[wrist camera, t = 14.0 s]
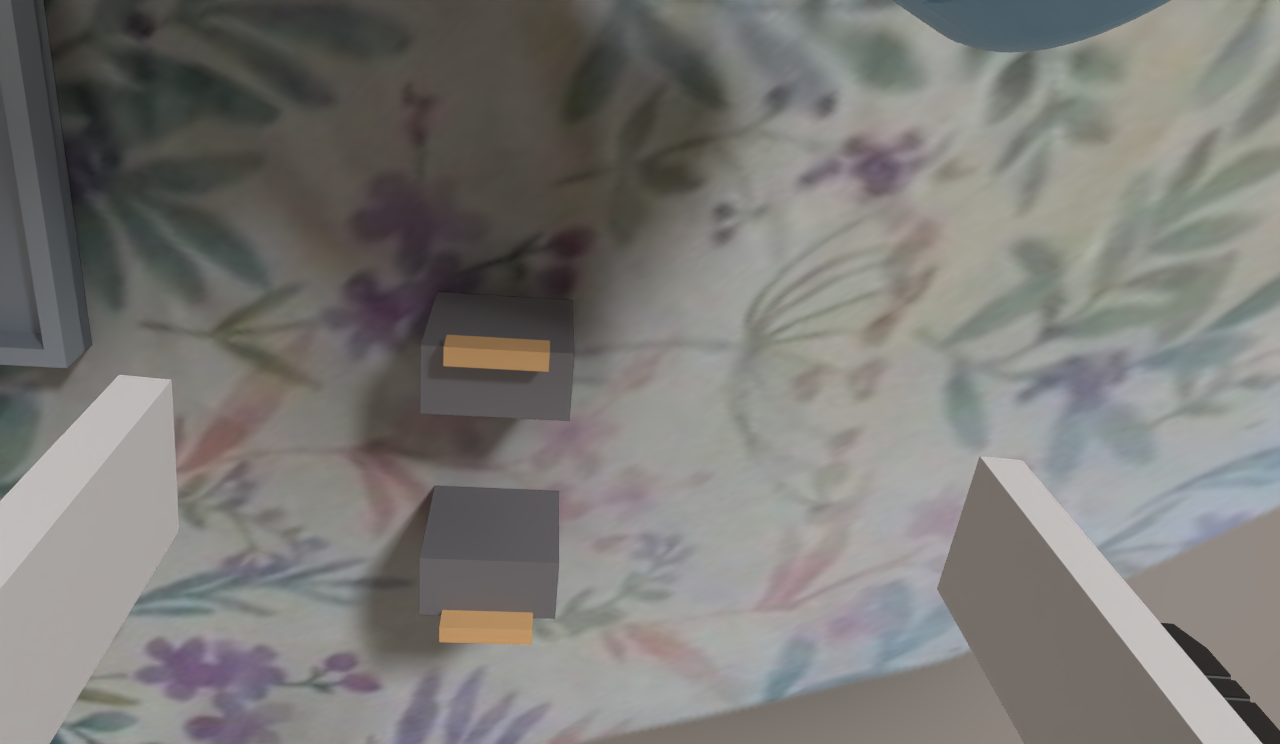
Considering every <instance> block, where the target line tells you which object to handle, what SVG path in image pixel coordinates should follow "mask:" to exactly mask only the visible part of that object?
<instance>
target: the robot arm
mask: <svg viewBox="0 0 1280 744" xmlns="http://www.w3.org/2000/svg"><path fill="white" fill-rule="evenodd" d="M892 1H894V2H895V3H897V4H898V5H900V6H901V7H903V8H904V9H906V10H907V11H908V12H910V13H911V14H913V15H914V16H916V17H917V18H919V19H920V20H922V21H923V22H924V23H926V24H927V25H929V26H930V27H932V28H933V29H935V30H936V31H938V32H939V33H941V34H942V35H944V36H946V37H947V38H949V39H951V40H953V41H955V42H958V43H962V44H965V45H968V46H971V47H975V48H978V49H982V50H986V51H995V52H1025V51H1036V50H1043V49H1049V48H1054V47H1058V46H1063V45H1067V44H1070V43H1074V42H1077V41H1080V40H1084V39H1087V38H1090V37H1092V36H1095V35H1098V34H1101V33H1103V32H1106V31H1108V30H1111V29H1113V28H1115V27H1118V26H1120V25H1122V24H1125V23H1127V22H1129V21H1131V20H1133V19H1136V18H1138V17H1140V16H1142V15H1144V14H1146V13H1148V12H1150V11H1152V10H1154V9H1156V8H1158V7H1159V6H1161V5H1163V4H1165V3H1167V2H1169V1H1171V0H892ZM178 532H179V520H178V499H177V478H176V458H175V437H174V416H173V395H172V380H170V379H159V378H148V377H138V376H127V375H118V376H117V378H116V379H115V380H114V381H113V382H112V383H111V384H110V385H109V386H108V387H107V388H106V389H105V390H104V391H103V392H102V393H101V394H100V396H99V397H98V398H97V399H96V400H95V401H94V402H93V403H92V404H91V405H90V406H89V407H88V408H87V409H86V410H85V411H84V413H83V414H82V415H81V416H80V417H79V418H78V419H77V420H76V421H75V422H74V423H73V424H72V425H71V426H70V427H69V428H68V430H67V431H66V432H65V433H64V434H63V435H62V436H61V437H60V438H59V439H58V440H57V441H56V442H55V443H54V444H53V445H52V446H51V448H50V449H49V450H48V451H47V452H46V453H45V454H44V455H43V456H42V457H41V458H40V459H39V460H38V461H37V462H36V463H35V465H34V466H33V467H32V468H31V469H30V470H29V471H28V472H27V473H26V474H25V475H24V476H23V477H22V478H21V479H20V480H19V482H18V483H17V484H16V485H15V486H14V487H13V488H12V489H11V490H10V491H9V492H8V493H7V494H6V495H5V496H4V497H3V498H2V500H1V501H0V744H50V742H51V741H52V739H53V737H54V736H55V734H56V732H57V731H58V729H59V727H60V726H61V724H62V723H63V721H64V719H65V718H66V716H67V714H68V713H69V711H70V709H71V708H72V706H73V704H74V703H75V701H76V699H77V698H78V696H79V695H80V693H81V691H82V690H83V688H84V686H85V685H86V683H87V681H88V680H89V678H90V676H91V675H92V673H93V672H94V670H95V668H96V667H97V665H98V663H99V662H100V660H101V658H102V657H103V655H104V653H105V652H106V650H107V649H108V647H109V645H110V644H111V642H112V640H113V639H114V637H115V635H116V634H117V632H118V630H119V629H120V627H121V626H122V624H123V622H124V621H125V619H126V617H127V616H128V614H129V612H130V611H131V609H132V607H133V606H134V604H135V602H136V601H137V599H138V598H139V596H140V594H141V593H142V591H143V589H144V588H145V586H146V584H147V583H148V581H149V579H150V578H151V576H152V575H153V573H154V571H155V570H156V568H157V566H158V565H159V563H160V561H161V560H162V558H163V556H164V555H165V553H166V552H167V550H168V548H169V547H170V545H171V543H172V542H173V540H174V538H175V537H176V535H177V533H178ZM937 589H938V591H939V593H940V595H941V597H942V598H943V600H944V602H945V604H946V605H947V607H948V609H949V611H950V613H951V614H952V616H953V618H954V620H955V621H956V623H957V625H958V627H959V629H960V630H961V632H962V634H963V636H964V637H965V639H966V641H967V643H968V645H969V646H970V648H971V650H972V652H973V653H974V655H975V657H976V659H977V660H978V662H979V664H980V666H981V668H982V669H983V671H984V673H985V675H986V677H987V678H988V680H989V682H990V684H991V685H992V687H993V689H994V691H995V693H996V694H997V696H998V698H999V700H1000V701H1001V703H1002V705H1003V706H1004V708H1005V710H1006V712H1007V714H1008V716H1009V717H1010V719H1011V721H1012V723H1013V725H1014V726H1015V728H1016V730H1017V731H1018V734H1019V735H1020V737H1021V739H1022V741H1023V742H1024V744H1280V731H1279V729H1278V728H1277V727H1276V726H1275V725H1274V724H1273V723H1272V721H1271V720H1270V719H1269V718H1268V717H1267V716H1266V715H1265V714H1264V712H1263V711H1262V710H1261V709H1260V708H1259V707H1258V706H1257V704H1256V703H1251V702H1250V696H1249V695H1248V694H1247V693H1246V692H1245V691H1244V690H1243V689H1242V687H1241V686H1240V685H1239V684H1238V683H1237V682H1236V681H1234V680H1231V678H1230V677H1231V675H1230V674H1229V673H1228V672H1227V670H1226V669H1225V668H1224V667H1223V666H1222V665H1221V664H1220V662H1219V661H1218V660H1217V659H1216V658H1215V657H1214V656H1213V655H1212V653H1211V652H1210V651H1209V650H1208V649H1207V648H1206V647H1204V646H1203V645H1202V644H1200V643H1199V642H1198V641H1196V640H1195V639H1193V638H1192V637H1191V636H1189V635H1188V634H1187V633H1185V632H1184V631H1182V630H1180V628H1178V627H1177V626H1175V625H1174V624H1168V623H1159V621H1158V620H1157V619H1156V618H1155V617H1154V615H1153V614H1152V613H1151V612H1150V610H1149V609H1148V608H1147V607H1146V606H1145V605H1144V603H1143V602H1142V601H1141V600H1140V599H1139V597H1138V596H1137V595H1136V594H1135V593H1134V592H1133V590H1132V589H1131V588H1130V587H1129V586H1128V585H1127V583H1126V582H1125V581H1124V580H1123V579H1122V577H1121V576H1120V575H1119V574H1118V573H1117V572H1116V570H1115V569H1114V568H1113V567H1112V566H1111V564H1110V563H1109V562H1108V561H1107V560H1106V559H1105V557H1104V556H1103V555H1102V554H1101V553H1100V552H1099V550H1098V549H1097V548H1096V547H1095V546H1094V544H1093V543H1092V542H1091V541H1090V540H1089V539H1088V537H1087V536H1086V535H1085V534H1084V533H1083V531H1082V530H1081V529H1080V528H1079V527H1078V526H1077V524H1076V523H1075V522H1074V521H1073V520H1072V519H1071V517H1070V516H1069V515H1068V514H1067V513H1066V511H1065V510H1064V509H1063V508H1062V507H1061V506H1060V504H1059V503H1058V502H1057V501H1056V500H1055V498H1054V497H1053V496H1052V495H1051V494H1050V493H1049V491H1048V490H1047V489H1046V488H1045V487H1044V485H1043V484H1042V483H1041V482H1040V481H1039V480H1038V478H1037V477H1036V476H1035V475H1034V474H1033V473H1032V471H1031V470H1030V469H1029V468H1028V467H1027V465H1026V464H1025V463H1024V462H1023V461H1022V460H1014V459H1003V458H993V457H982V456H980V457H979V460H978V464H977V467H976V470H975V473H974V476H973V479H972V482H971V485H970V488H969V492H968V495H967V498H966V501H965V504H964V507H963V510H962V513H961V516H960V520H959V523H958V526H957V529H956V532H955V535H954V538H953V541H952V544H951V548H950V551H949V554H948V557H947V560H946V563H945V566H944V569H943V572H942V576H941V579H940V582H939V585H938V588H937Z"/></svg>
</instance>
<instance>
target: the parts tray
mask: <svg viewBox="0 0 1280 744" xmlns="http://www.w3.org/2000/svg"><path fill="white" fill-rule="evenodd" d="M91 345H92V342H91V335H90V327H89V320H88V313H87V306H86V299H85V292H84V285H83V278H82V270H81V263H80V256H79V249H78V242H77V235H76V228H75V221H74V214H73V206H72V199H71V192H70V185H69V178H68V171H67V164H66V157H65V149H64V142H63V135H62V128H61V121H60V114H59V107H58V100H57V93H56V85H55V78H54V71H53V64H52V57H51V50H50V43H49V36H48V28H47V21H46V14H45V7H44V0H0V365H15V366H34V367H53V368H68V367H69V366H70V365H71V364H72V363H73V362H74V361H75V360H76V359H77V358H78V357H79V356H81V355H82V354H83V353H84V352H85V351H86V350H87V349H88V348H89V347H90V346H91Z"/></svg>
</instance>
